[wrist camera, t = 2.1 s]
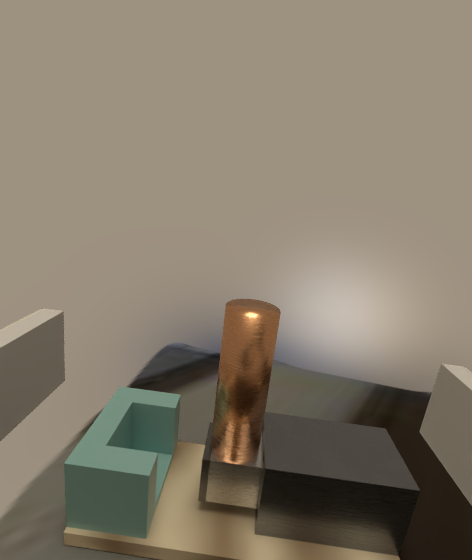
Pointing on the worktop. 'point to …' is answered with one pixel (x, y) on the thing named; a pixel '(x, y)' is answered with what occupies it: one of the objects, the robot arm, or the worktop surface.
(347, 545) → the sleeve
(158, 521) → the base board
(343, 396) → the worktop surface
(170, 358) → the worktop surface
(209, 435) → the slip bolt
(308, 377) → the worktop surface
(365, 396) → the worktop surface
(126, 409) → the socket
